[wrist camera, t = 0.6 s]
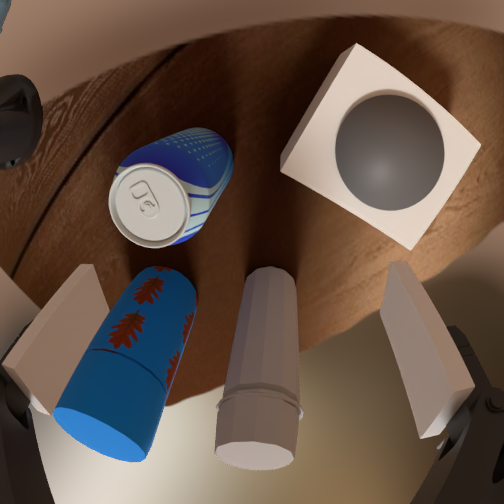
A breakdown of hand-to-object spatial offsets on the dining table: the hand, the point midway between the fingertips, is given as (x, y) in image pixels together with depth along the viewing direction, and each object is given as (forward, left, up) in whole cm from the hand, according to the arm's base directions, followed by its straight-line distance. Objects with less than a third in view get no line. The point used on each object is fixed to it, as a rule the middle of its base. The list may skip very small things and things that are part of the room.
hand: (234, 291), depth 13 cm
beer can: (-7, -3, -25) cm, 26 cm away
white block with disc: (+9, +9, -25) cm, 28 cm away
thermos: (-4, -24, -25) cm, 35 cm away
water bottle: (+9, -15, -25) cm, 31 cm away
